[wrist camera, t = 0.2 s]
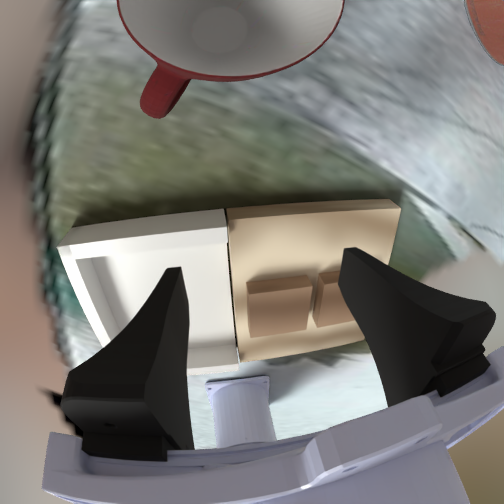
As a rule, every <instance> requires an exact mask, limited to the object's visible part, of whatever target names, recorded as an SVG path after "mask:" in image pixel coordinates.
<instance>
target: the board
mask: <svg viewBox="0 0 504 504" xmlns="http://www.w3.org/2000/svg"><path fill="white" fill-rule="evenodd" d="M226 210H227V224H228V238H229V252H230V265H231V277H232V289H233V301H234V313H235V324H236V335H237V346H238V353H239V359H240V363H241V362H249V361H256V360H263V359H270V358H276V357H283V356H289V355H294V354H300V353H306V352H311V351H316V350H321V349H326V348H331V347H336V346H340V345H345V344H349V343H353V342H358V341H362V340H364V338H365V337H364V335H363V333H362V331H361V330H360V328H359V326H358V324H357V322H356V321H350V322H345V323H340V324H335V325H330V326H325V327H319V328H317V327H316V325H315V322H314V320H313V318H312V314H313V307H314V301H315V294H316V287H317V280H318V273H325V272H333V271H340V269H341V263H342V257H343V250H344V248H350V247H357V248H359V249H361V250H363V251H365V252H366V253H368V254H370V255H372V256H373V257H375V258H377V259H378V260H380V261H382V262H383V263H385V264H387V265H388V262H389V259H390V255H391V251H392V247H393V243H394V239H395V234H396V230H397V226H398V221H399V216H400V211H401V208H400V207H399V206H398V205H396V204H395V203H394V202H392V201H391V200H390V199H367V200H342V201H321V202H304V203H288V204H274V205H261V206H249V207H237V208H226ZM302 275H307V276H308V278H309V280H310V282H311V284H312V286H313V287H312V295H311V302H310V309H309V316H308V323H307V329H306V330H302V331H296V332H290V333H283V334H277V335H270V336H262V337H255V338H250V333H249V328H248V316H247V295H246V282H252V281H261V280H270V279H278V278H286V277H294V276H302Z"/></svg>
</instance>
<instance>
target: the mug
mask: <svg viewBox="0 0 504 504" xmlns="http://www.w3.org/2000/svg"><path fill="white" fill-rule="evenodd" d="M344 2H345V0H117V7H118V11H119V15H120V18H121V21H122V23H123V25H124V27H125V29H126V30H127V32H128V34H129V35H130V36H131V38H132V39H133V40H134V41H135V43H136V44H137V45H138V46H139V47H140V48H141V49H143V50H144V51H145V52H146V53H147V54H148V55H150V56H151V57H152V58H153V59H154V60H155V61H156V62H157V64H158V65H157V67H156V69H155V71H154V72H153V74H152V75H151V77H150V78H149V80H148V82H147V84H146V86H145V88H144V90H143V93H142V95H141V99H140V107H141V109H142V111H143V112H144V113H146V114H147V115H149V116H151V117H153V118H159V119H160V118H163V117H165V116H166V115H167V114H168V113H169V112H170V111H171V110H172V108H173V107H174V106H175V104H176V103H177V101H178V100H179V99H180V97H181V95H182V94H183V92H184V91H185V89H186V87H187V86H188V84H189V82H190V80H191V79H198V80H206V81H217V82H232V81H243V80H250V79H254V78H259V77H263V76H266V75H270V74H273V73H276V72H278V71H281V70H284V69H287V68H289V67H291V66H293V65H295V64H297V63H299V62H301V61H303V60H304V59H306V58H307V57H309V56H310V55H312V54H313V53H314V52H316V51H317V50H318V49H319V48H320V47H321V46H322V45H323V44H324V43H325V42H326V41H327V40H328V39H329V38H330V36H331V35H332V34H333V32H334V31H335V29H336V27H337V25H338V23H339V21H340V19H341V16H342V12H343V9H344Z"/></svg>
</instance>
